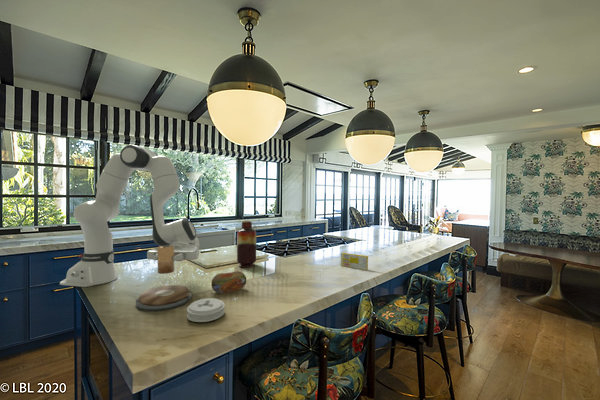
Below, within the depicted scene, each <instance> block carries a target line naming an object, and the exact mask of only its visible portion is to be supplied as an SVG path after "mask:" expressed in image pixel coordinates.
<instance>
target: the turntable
mask: <svg viewBox="0 0 600 400" xmlns="http://www.w3.org/2000/svg"><path fill="white" fill-rule="evenodd" d="M189 290H190V289H189V288H188V287H187V286H185V285H177V284H172V285H162V286H157V287H152V288H150V289H147V290H145V291H143V292H141V293H140V294H139V297H138V298H139V302H140V303H141V304H143V305H149V306H160V305H167V304H172V303H175V302H178V301H181V300H183V299H185V298H186V297H187V296H191V295H192V292H191V293H189Z"/></svg>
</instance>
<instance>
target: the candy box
mask: <svg viewBox="0 0 600 400" xmlns="http://www.w3.org/2000/svg"><path fill="white" fill-rule="evenodd" d="M340 267H341V268H347V269H354V270H360V271H366V272H367V271H368V270H369V255H363V254H356V253H355V254H354V253H348V252H341V253H340Z"/></svg>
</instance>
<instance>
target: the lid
mask: <svg viewBox="0 0 600 400" xmlns="http://www.w3.org/2000/svg"><path fill="white" fill-rule="evenodd" d="M225 305H226V304H225V303H224V301H222V300H220V299H219V298H212V297H211V298H210V297H209V298H208V297H207V298H201V299H197V300H195V301H193V302H191V303H190V304H189V305H188V306H187V307H186V311H187V314H186V318H187V319H188V320H189V321H191V322H194V323H195V322H196V323H206V322H210V321H214V320H218V319H220V318H221V317H222V316H224V315H225Z"/></svg>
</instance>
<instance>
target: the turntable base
mask: <svg viewBox="0 0 600 400" xmlns="http://www.w3.org/2000/svg"><path fill="white" fill-rule="evenodd" d="M189 293H192V291H191V290H190V289H189ZM192 297H193V296H192V295H191V296H187V297H186V298H185V299H183V300H181V301H178V302H175V303H172V304H167V305H160V306H149V305H143V304H141V303H140V302H139V297H137V298H136V299H135V306H136V308H137V309H138V310H139V311H140V310H141V311H143V312H144V311H145V312H160V311H167V310H172V309H175V308H179V307H181V306H184V305H185V304H187V303H189V302H190V301H191V300H192Z"/></svg>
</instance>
